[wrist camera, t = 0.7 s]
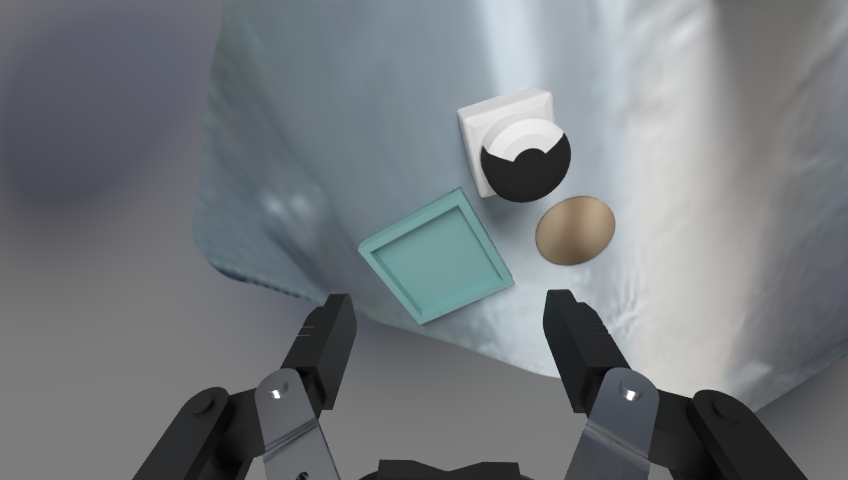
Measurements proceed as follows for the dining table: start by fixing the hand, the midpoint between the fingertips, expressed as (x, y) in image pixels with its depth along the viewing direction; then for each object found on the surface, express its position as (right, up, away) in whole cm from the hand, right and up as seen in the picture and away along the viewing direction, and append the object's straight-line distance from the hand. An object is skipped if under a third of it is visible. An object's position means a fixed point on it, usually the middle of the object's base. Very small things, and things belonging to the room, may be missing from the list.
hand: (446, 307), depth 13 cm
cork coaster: (+17, +4, +25) cm, 30 cm away
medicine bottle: (+7, +14, +19) cm, 25 cm away
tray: (+1, 0, +27) cm, 27 cm away
